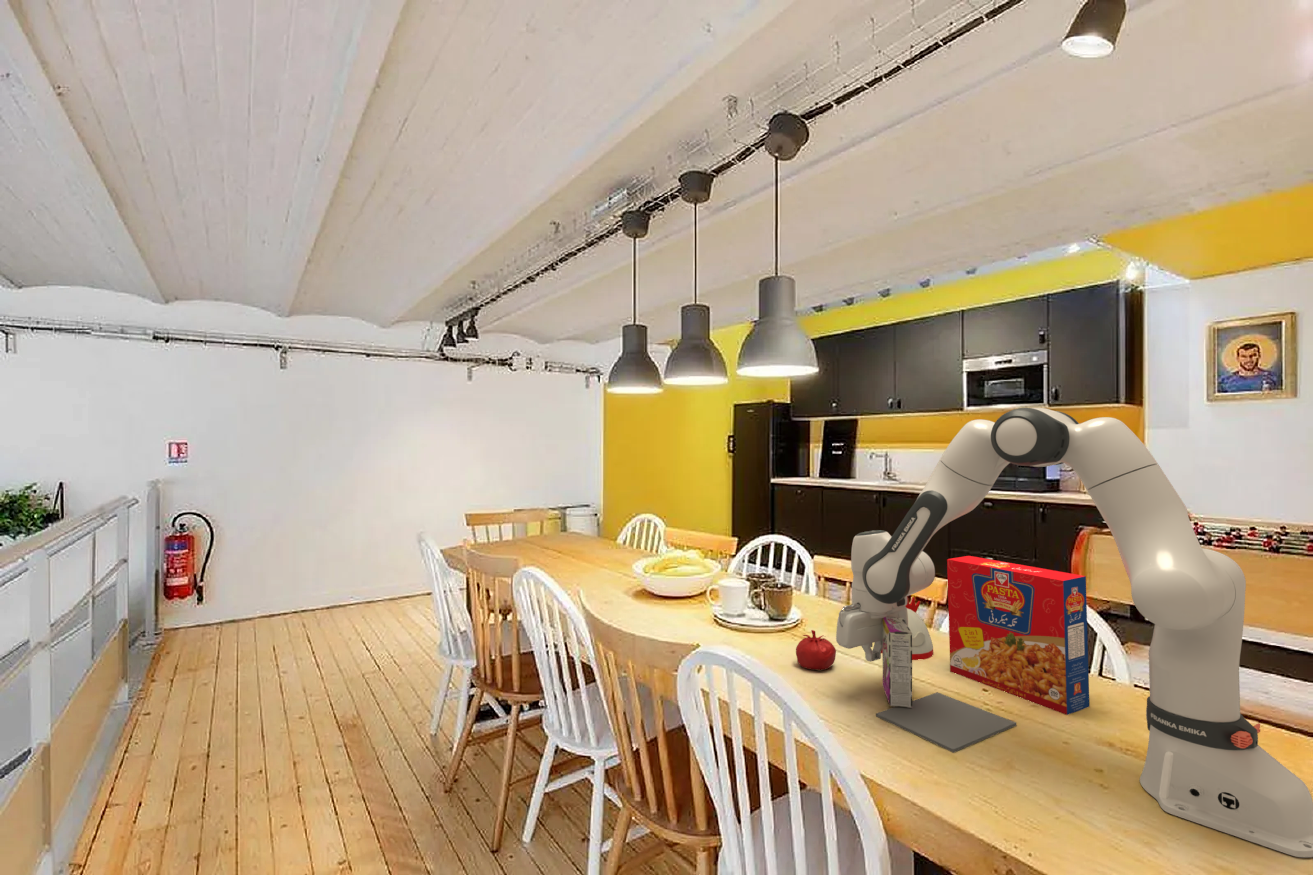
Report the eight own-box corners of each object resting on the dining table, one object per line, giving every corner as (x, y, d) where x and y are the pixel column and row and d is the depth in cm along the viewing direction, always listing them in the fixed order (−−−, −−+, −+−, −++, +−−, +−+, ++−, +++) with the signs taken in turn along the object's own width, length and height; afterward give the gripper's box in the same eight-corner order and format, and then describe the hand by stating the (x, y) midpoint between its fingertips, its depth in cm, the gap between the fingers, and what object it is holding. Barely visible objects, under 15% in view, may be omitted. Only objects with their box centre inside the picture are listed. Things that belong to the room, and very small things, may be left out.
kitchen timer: (942, 659, 163) (940, 602, 163) (889, 661, 163) (887, 603, 163) (920, 642, 177) (919, 589, 177) (871, 643, 177) (870, 590, 177)
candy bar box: (880, 686, 145) (881, 615, 144) (903, 688, 144) (904, 617, 143) (888, 707, 134) (888, 630, 134) (913, 709, 133) (913, 632, 132)
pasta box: (950, 671, 155) (947, 559, 155) (971, 665, 158) (968, 555, 158) (1066, 715, 129) (1063, 580, 130) (1089, 706, 133) (1085, 576, 133)
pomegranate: (827, 677, 154) (826, 640, 153) (789, 668, 160) (788, 632, 159) (842, 664, 161) (841, 628, 161) (805, 656, 168) (804, 622, 167)
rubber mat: (1016, 725, 125) (1016, 722, 125) (953, 752, 115) (953, 749, 115) (937, 694, 141) (937, 692, 141) (875, 716, 131) (875, 713, 131)
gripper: (850, 610, 136) (851, 673, 136) (912, 596, 146) (913, 655, 146) (829, 603, 142) (830, 664, 142) (890, 591, 152) (891, 647, 152)
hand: (873, 659), depth 144 cm, fingers closed
